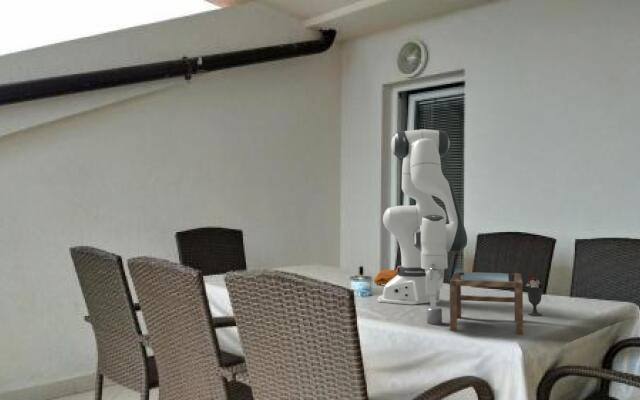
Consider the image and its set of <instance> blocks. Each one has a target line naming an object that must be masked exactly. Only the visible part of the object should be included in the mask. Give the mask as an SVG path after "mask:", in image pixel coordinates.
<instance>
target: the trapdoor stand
mask: <svg viewBox="0 0 640 400" xmlns="http://www.w3.org/2000/svg"><path fill="white" fill-rule="evenodd" d="M462 276H465V272H462V271H454V272H453V274H452V276H451V277H450V280H449V318H450V319H449V322H450V324H449V327H450V329H449V330H450V331H451V332H453V331H455V332H457V331H458V319H461V318H462V301H463V302H464V301H468V302H491V303H492V302H493V303H494V302H495V303H496V302H497V303H514V321H515V334H516V335H524V317H523V316H524V309H523V308H524V303H523V302H524V301H523V300H524V298H523V297H524V296H523V293H524V291H523V290H524V289H523V285H524V284H523V283H524V282H523V279H522V274H521V273H517V272H514V273H509V277H514V278H513V281H510V280H509V281H478V280H463V279H462ZM463 286H464V287H467V286H468V287H488V288H491V287H494V288H495V287H496V288H497V287H498V288H514V295H513V296H496V295H495V296H493V295H492V296H491V295H466V294H465V295H464V294H462V287H463Z"/></svg>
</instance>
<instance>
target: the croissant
mask: <svg viewBox="0 0 640 400" xmlns="http://www.w3.org/2000/svg"><path fill="white" fill-rule="evenodd" d="M397 275H398V274H397V269H382V270H381V271H379V273H376V274H375V276H374V279H373V281H374V283H375V284H385V285H386V284H387V283H388V282H389V281H390V280H391V279H393V278H394V277H395V276H397Z"/></svg>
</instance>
